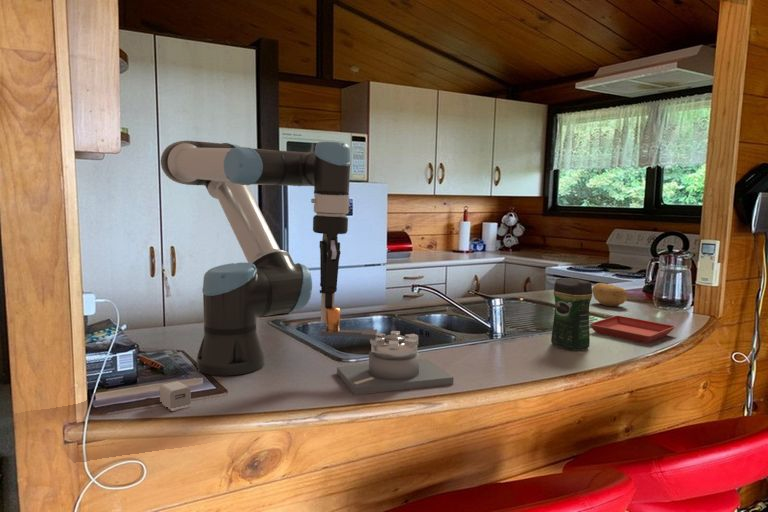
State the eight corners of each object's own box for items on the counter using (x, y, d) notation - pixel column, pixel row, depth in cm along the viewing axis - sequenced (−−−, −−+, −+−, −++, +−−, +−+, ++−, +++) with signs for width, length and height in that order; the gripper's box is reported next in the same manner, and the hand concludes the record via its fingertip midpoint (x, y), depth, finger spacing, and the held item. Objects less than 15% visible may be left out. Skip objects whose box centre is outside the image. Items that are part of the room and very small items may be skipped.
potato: (615, 310, 200) (616, 288, 199) (585, 303, 213) (586, 282, 212) (634, 308, 204) (635, 286, 203) (603, 301, 217) (605, 280, 216)
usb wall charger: (170, 412, 102) (169, 391, 102) (154, 402, 107) (153, 381, 107) (191, 407, 105) (190, 386, 104) (175, 397, 110) (174, 377, 109)
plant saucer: (648, 347, 153) (649, 335, 153) (587, 334, 167) (588, 323, 166) (675, 336, 165) (676, 325, 165) (616, 325, 179) (616, 315, 178)
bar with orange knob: (418, 346, 127) (419, 305, 126) (418, 361, 116) (419, 316, 115) (325, 343, 128) (325, 303, 127) (317, 357, 118) (317, 313, 116)
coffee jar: (594, 349, 149) (598, 280, 147) (574, 353, 145) (578, 282, 143) (565, 340, 157) (569, 275, 155) (545, 344, 153) (549, 277, 151)
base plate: (354, 394, 112) (354, 368, 112) (336, 373, 125) (337, 349, 125) (453, 384, 120) (454, 359, 119) (426, 364, 133) (427, 342, 132)
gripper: (309, 212, 126) (306, 315, 129) (317, 216, 114) (313, 329, 117) (342, 213, 128) (338, 314, 131) (353, 217, 116) (349, 328, 119)
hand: (327, 321), depth 124 cm, fingers closed
